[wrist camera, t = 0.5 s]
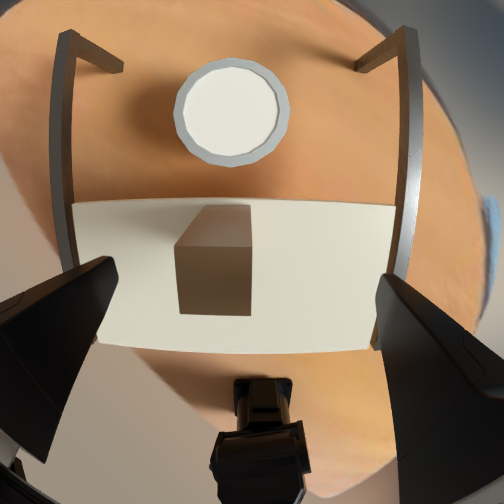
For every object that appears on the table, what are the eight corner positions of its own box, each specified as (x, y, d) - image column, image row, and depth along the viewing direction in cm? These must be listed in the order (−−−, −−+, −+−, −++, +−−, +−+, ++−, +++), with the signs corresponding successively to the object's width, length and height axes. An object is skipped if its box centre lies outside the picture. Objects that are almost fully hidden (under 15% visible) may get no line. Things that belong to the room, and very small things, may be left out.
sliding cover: (365, 343, 19) (405, 421, 12) (102, 338, 19) (57, 409, 12) (391, 204, 16) (472, 243, 9) (76, 202, 16) (-7, 238, 9)
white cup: (176, 124, 22) (149, 115, 15) (236, 67, 20) (231, 36, 14) (236, 180, 24) (231, 191, 17) (296, 123, 22) (314, 112, 15)
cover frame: (350, 292, 27) (386, 349, 19) (123, 289, 27) (82, 342, 18) (365, 62, 20) (417, 29, 11) (113, 62, 20) (59, 33, 11)
